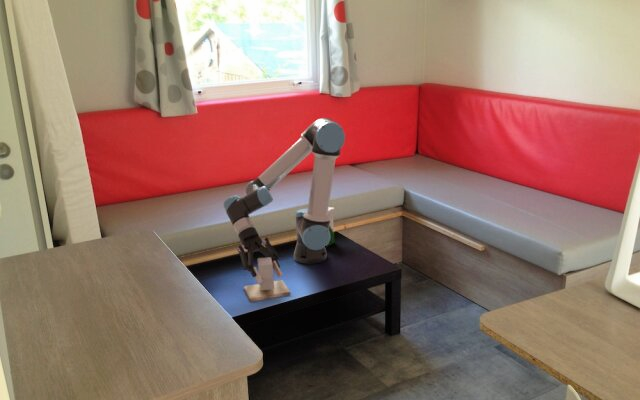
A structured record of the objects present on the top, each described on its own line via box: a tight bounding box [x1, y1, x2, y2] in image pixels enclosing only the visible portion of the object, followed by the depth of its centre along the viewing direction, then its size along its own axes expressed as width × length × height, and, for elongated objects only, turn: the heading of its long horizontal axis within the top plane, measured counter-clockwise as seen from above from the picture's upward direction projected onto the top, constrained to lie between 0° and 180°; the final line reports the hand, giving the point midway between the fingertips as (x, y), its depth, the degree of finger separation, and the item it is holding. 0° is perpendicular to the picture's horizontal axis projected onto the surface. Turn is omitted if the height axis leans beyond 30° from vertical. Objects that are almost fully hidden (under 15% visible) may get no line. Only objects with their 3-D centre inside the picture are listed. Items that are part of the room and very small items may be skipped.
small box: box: [257, 257, 275, 290], centre depth 217 cm, size 8×6×10 cm
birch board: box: [243, 279, 291, 303], centre depth 219 cm, size 16×12×1 cm
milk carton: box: [325, 206, 335, 248], centre depth 265 cm, size 9×9×20 cm
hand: (270, 279), depth 215 cm, fingers closed on small box, 8 cm apart
